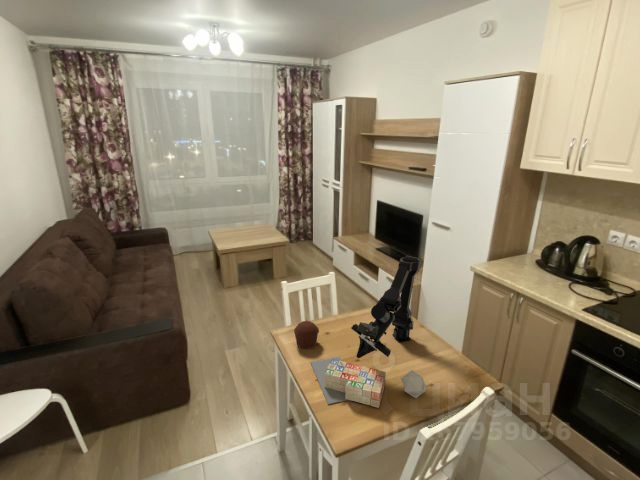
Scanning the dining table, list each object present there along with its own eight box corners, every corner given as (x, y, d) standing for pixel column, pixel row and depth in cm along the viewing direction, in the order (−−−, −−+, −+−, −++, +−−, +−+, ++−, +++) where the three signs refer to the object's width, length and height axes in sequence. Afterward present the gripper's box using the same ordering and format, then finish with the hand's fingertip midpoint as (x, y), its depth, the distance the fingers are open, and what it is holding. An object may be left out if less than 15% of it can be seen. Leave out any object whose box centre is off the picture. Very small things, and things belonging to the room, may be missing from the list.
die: (404, 403, 121) (423, 390, 117) (392, 379, 127) (410, 366, 122) (417, 400, 127) (435, 388, 122) (405, 378, 132) (423, 365, 127)
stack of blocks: (331, 371, 136) (321, 392, 125) (332, 358, 134) (321, 378, 123) (385, 385, 128) (378, 408, 117) (386, 371, 127) (380, 394, 116)
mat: (339, 357, 145) (339, 356, 145) (362, 397, 123) (362, 396, 123) (310, 362, 141) (310, 361, 141) (328, 404, 119) (328, 403, 119)
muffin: (294, 336, 160) (293, 317, 157) (317, 335, 161) (317, 316, 158) (294, 351, 149) (294, 331, 146) (319, 350, 150) (320, 330, 147)
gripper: (355, 305, 137) (332, 337, 135) (387, 327, 122) (361, 363, 120) (369, 317, 144) (347, 348, 141) (401, 339, 128) (377, 374, 126)
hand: (357, 357), depth 132 cm, fingers closed
